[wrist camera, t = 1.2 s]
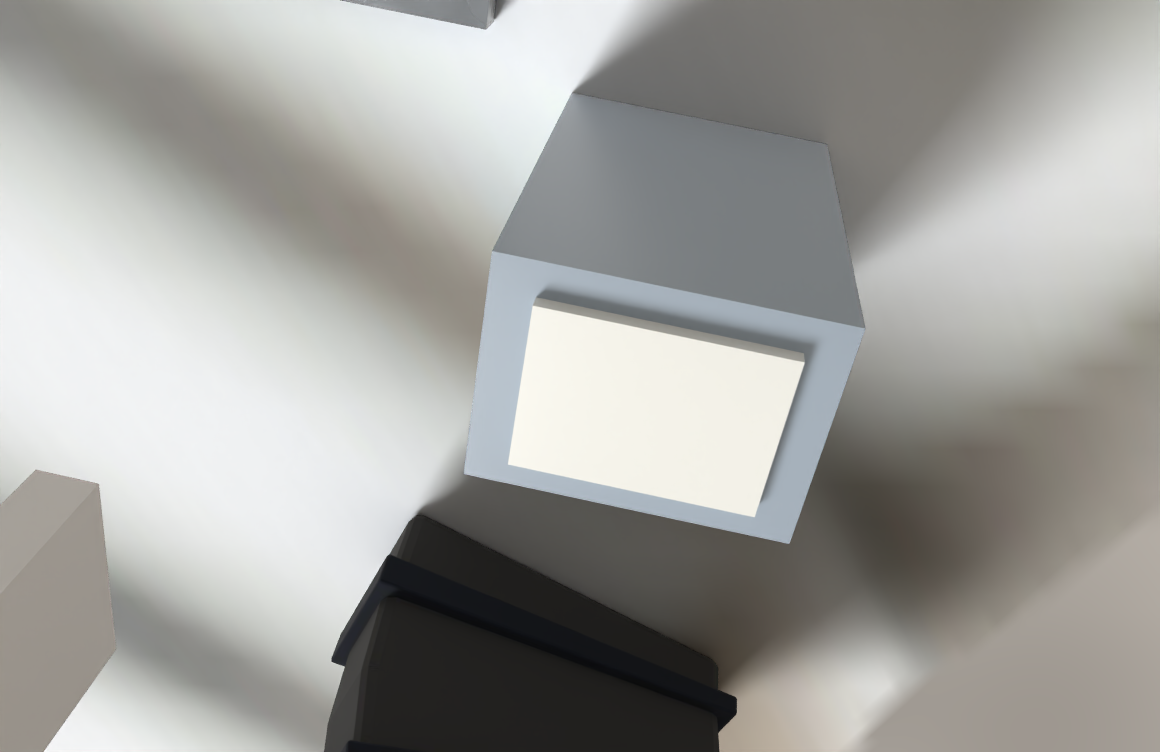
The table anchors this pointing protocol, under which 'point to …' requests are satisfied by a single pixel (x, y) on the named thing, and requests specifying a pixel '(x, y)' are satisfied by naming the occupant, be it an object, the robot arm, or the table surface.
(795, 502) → the block
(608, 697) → the magazine
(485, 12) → the grey piece
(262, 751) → the table surface
